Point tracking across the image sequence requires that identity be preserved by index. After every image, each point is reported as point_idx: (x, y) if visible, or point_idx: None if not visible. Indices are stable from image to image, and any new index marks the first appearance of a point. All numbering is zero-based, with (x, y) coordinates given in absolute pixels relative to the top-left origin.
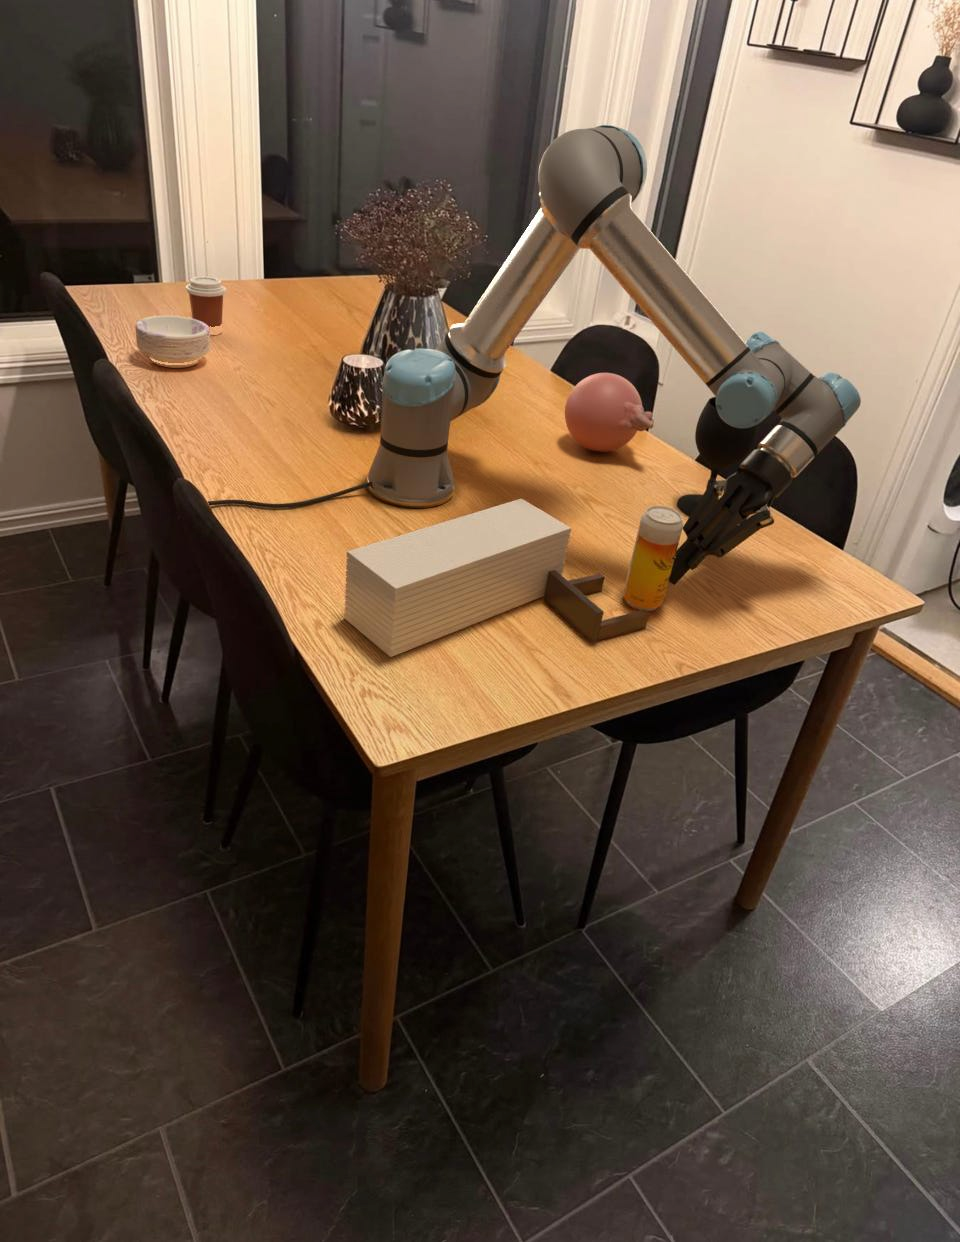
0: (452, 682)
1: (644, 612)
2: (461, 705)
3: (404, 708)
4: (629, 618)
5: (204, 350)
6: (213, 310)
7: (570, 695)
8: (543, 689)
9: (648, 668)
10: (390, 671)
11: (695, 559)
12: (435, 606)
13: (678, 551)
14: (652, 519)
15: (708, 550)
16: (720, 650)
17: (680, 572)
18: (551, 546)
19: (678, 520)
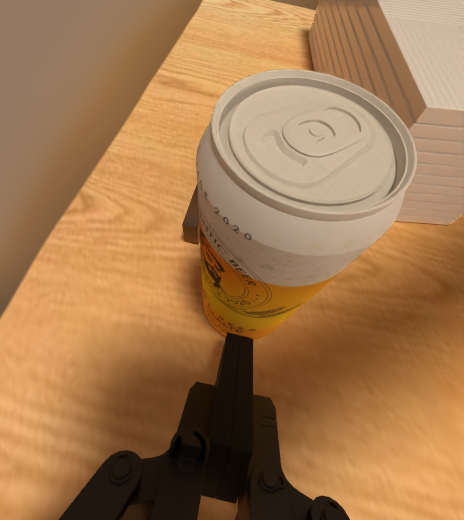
0: (250, 44)
1: (190, 220)
2: (221, 33)
3: (246, 15)
4: (196, 188)
5: None
6: None
7: (163, 84)
8: (189, 77)
9: (122, 168)
10: (291, 30)
11: (187, 405)
12: (330, 11)
13: (267, 413)
14: (301, 72)
15: (153, 458)
16: (42, 291)
17: (217, 378)
18: (389, 101)
19: (235, 160)
